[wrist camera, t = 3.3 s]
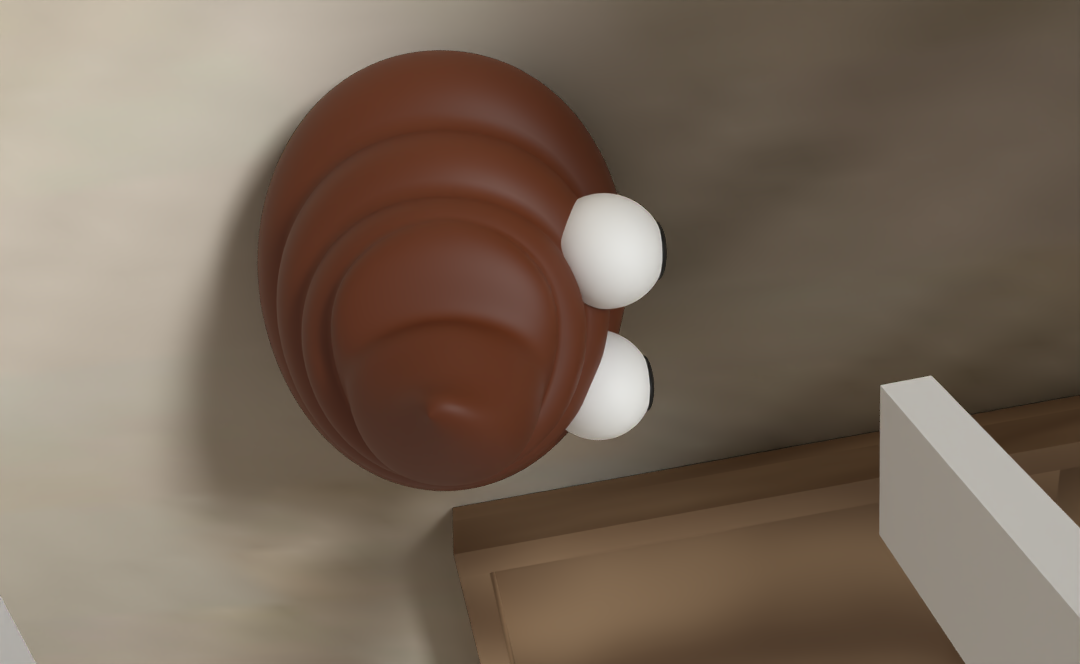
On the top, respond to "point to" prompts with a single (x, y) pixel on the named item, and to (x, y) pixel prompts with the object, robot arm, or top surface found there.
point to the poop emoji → (453, 273)
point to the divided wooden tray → (725, 558)
